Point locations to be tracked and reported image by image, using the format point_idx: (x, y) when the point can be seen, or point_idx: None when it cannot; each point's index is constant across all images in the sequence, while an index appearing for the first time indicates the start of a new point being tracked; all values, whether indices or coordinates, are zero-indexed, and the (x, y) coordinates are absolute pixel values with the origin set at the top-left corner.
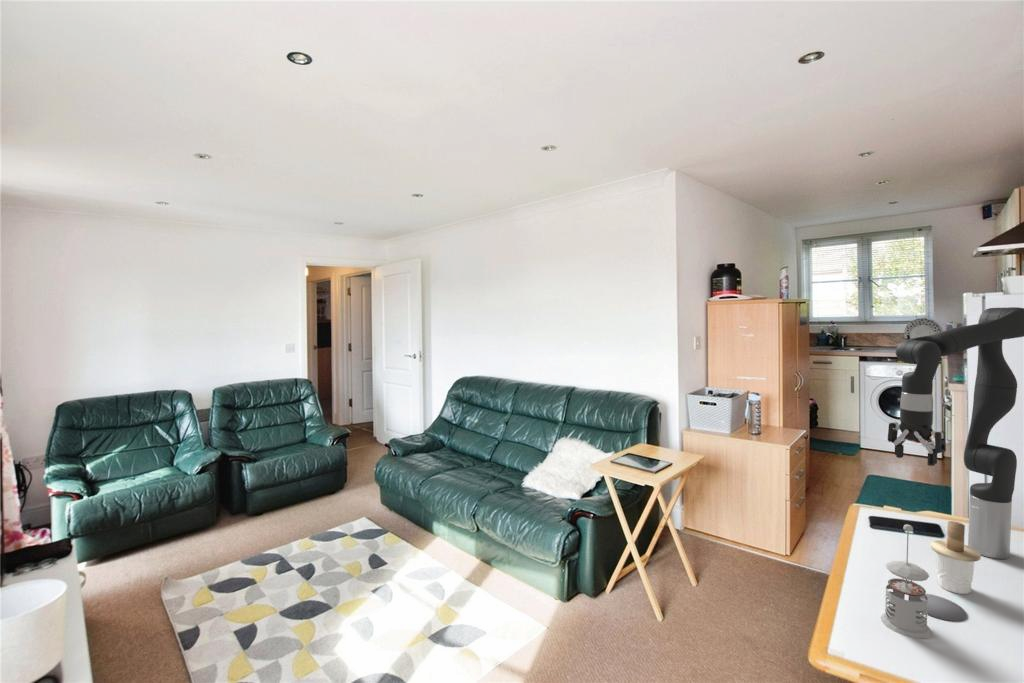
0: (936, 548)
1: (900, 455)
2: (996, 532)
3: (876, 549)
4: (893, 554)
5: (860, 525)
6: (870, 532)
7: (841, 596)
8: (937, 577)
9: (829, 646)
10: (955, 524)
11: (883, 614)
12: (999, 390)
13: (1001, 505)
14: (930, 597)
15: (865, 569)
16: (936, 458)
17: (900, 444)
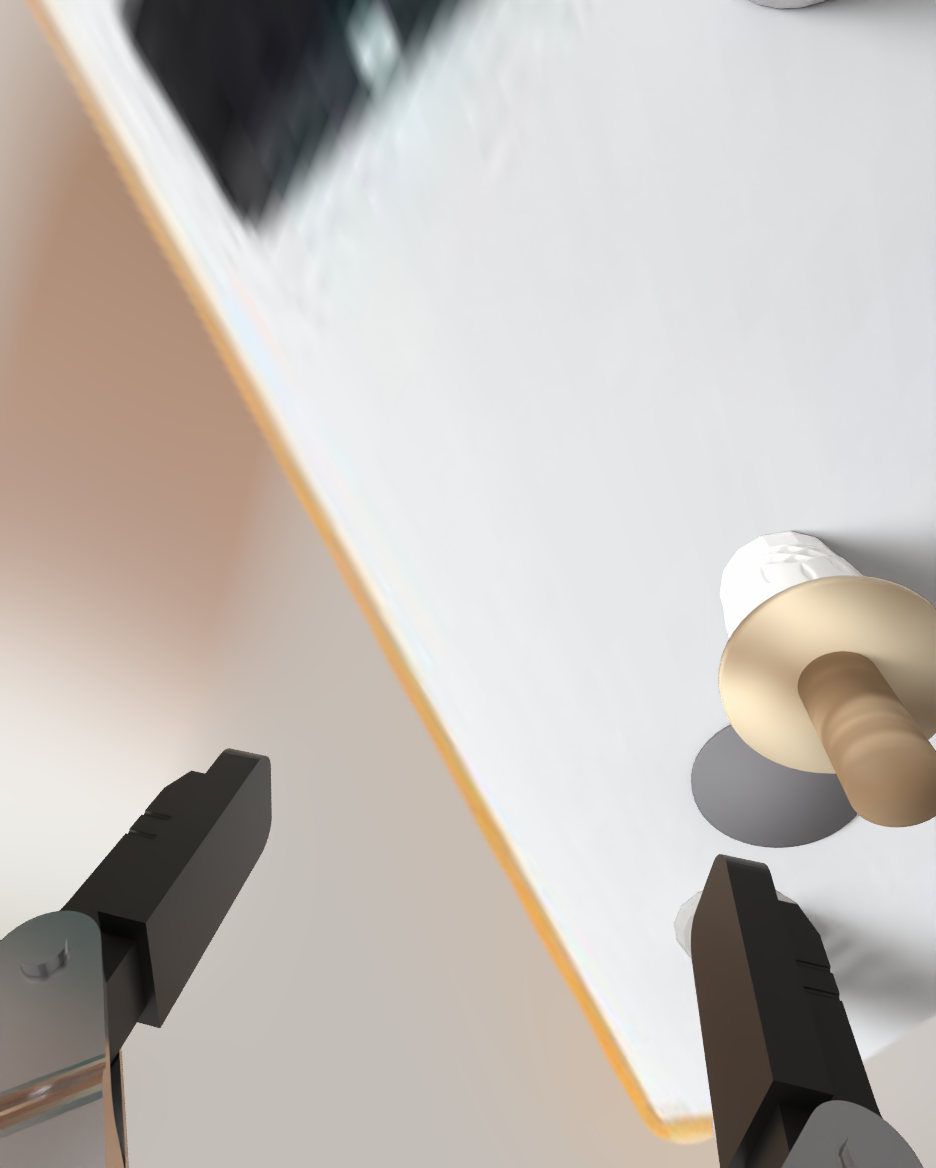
0: (762, 746)
1: (253, 828)
2: None
3: (423, 492)
4: (491, 478)
5: (206, 251)
6: (289, 303)
7: (553, 916)
8: (722, 603)
9: (653, 1102)
10: (898, 800)
11: (680, 935)
12: None
13: None
14: (744, 747)
15: (500, 707)
16: (837, 1025)
17: (123, 1002)
